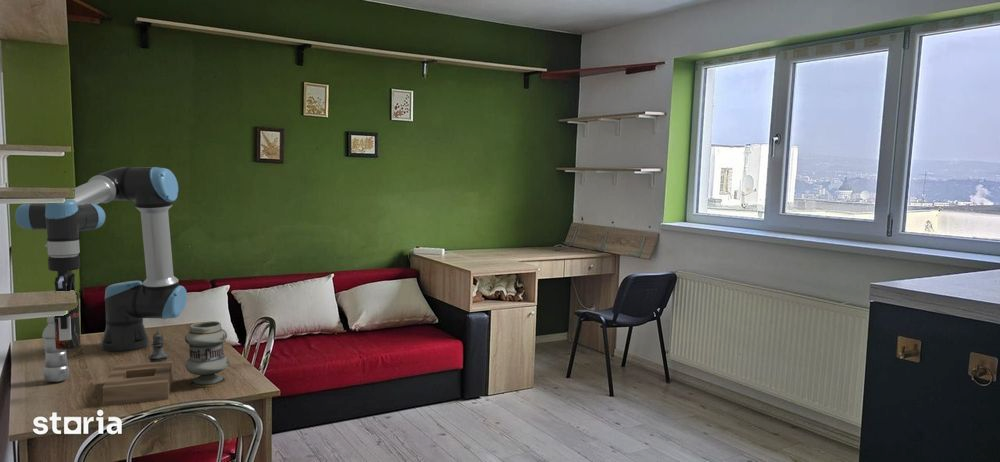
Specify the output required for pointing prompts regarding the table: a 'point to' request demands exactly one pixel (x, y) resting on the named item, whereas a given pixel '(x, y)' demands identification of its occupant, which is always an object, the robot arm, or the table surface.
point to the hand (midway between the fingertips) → (67, 336)
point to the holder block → (138, 383)
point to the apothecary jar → (206, 353)
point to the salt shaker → (158, 349)
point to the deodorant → (74, 331)
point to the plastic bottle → (54, 356)
